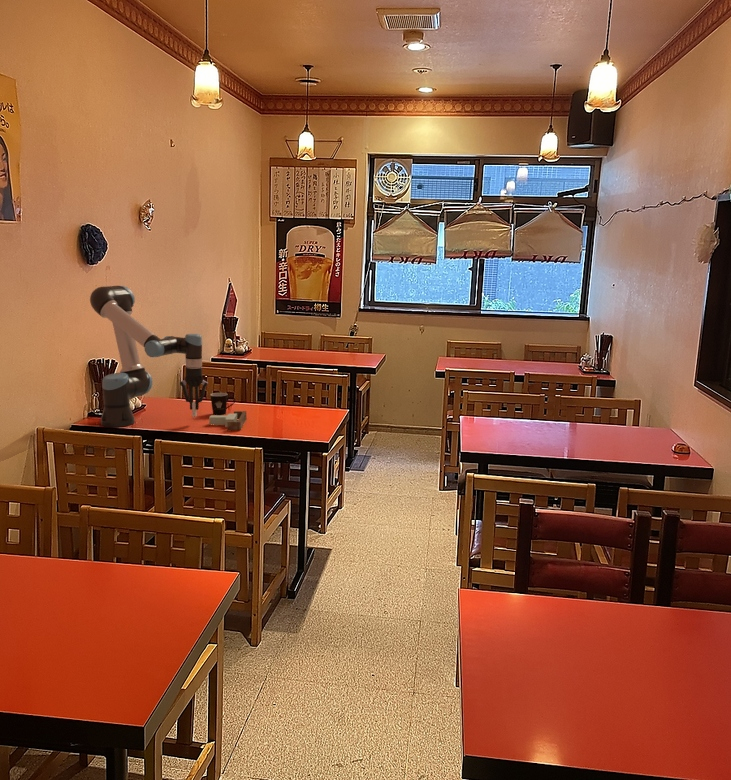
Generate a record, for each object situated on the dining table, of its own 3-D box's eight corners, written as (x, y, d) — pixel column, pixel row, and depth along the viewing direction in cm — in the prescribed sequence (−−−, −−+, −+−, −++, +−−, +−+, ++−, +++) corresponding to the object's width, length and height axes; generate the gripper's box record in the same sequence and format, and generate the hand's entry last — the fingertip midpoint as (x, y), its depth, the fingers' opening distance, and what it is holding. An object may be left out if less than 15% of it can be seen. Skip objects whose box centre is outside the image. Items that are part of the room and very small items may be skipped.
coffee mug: (207, 414, 350) (207, 395, 348) (216, 411, 358) (215, 392, 356) (228, 416, 347) (228, 397, 345) (236, 413, 355) (236, 393, 353)
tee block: (208, 427, 325) (207, 419, 324) (212, 421, 337) (212, 413, 336) (233, 427, 326) (233, 419, 325) (237, 421, 338) (237, 413, 337)
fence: (227, 430, 320) (227, 422, 320) (234, 419, 342) (234, 411, 342) (240, 430, 321) (240, 422, 320) (246, 419, 343) (246, 411, 342)
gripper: (178, 368, 321) (178, 417, 326) (206, 369, 322) (206, 418, 327) (181, 365, 328) (182, 414, 333) (209, 366, 329) (209, 414, 334)
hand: (194, 416), depth 330 cm, fingers closed
